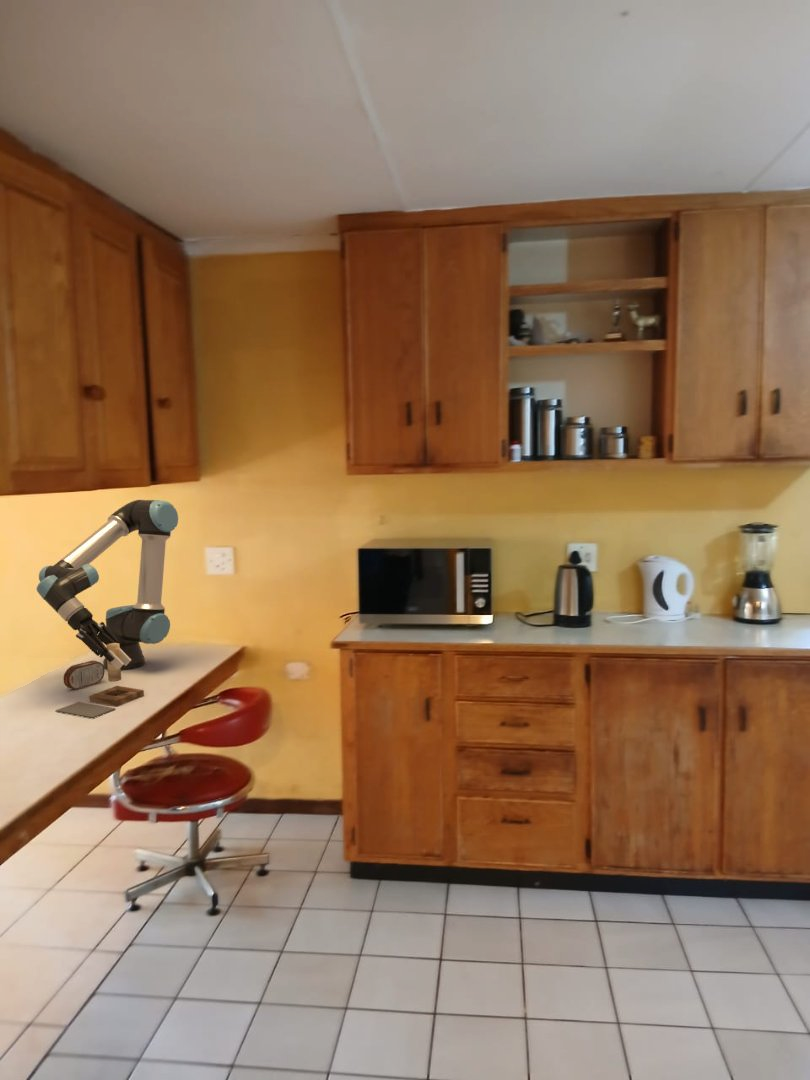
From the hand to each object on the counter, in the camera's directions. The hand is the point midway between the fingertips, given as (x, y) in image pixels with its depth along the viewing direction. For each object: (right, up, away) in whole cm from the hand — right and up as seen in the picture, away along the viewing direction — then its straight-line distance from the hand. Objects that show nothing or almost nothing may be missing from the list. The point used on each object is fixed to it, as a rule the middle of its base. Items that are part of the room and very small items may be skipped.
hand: (124, 664), depth 242 cm
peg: (-4, -5, +1) cm, 6 cm away
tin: (-20, -11, +16) cm, 28 cm away
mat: (-9, -13, -10) cm, 18 cm away
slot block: (-3, -12, +2) cm, 12 cm away
